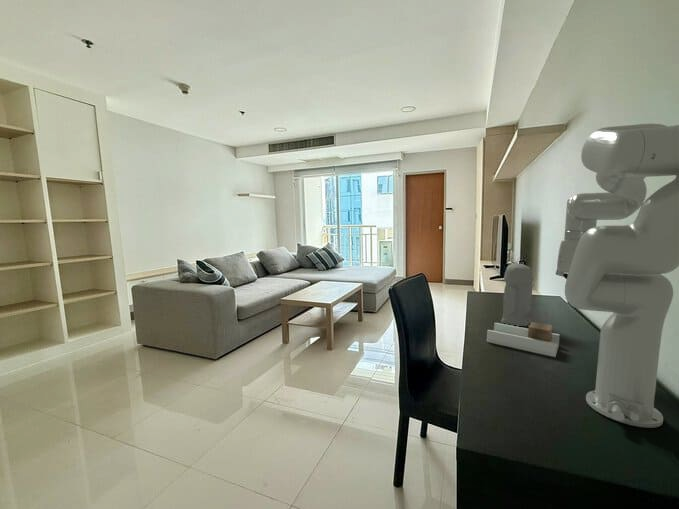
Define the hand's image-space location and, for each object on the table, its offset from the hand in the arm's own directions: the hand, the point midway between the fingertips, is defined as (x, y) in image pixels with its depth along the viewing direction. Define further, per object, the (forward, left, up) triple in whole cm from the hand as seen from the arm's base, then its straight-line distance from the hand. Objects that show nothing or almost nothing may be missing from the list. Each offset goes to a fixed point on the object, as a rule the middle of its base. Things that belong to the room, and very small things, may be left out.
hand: (575, 295), depth 97 cm
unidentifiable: (+25, +19, -19) cm, 37 cm away
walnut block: (0, +8, -18) cm, 20 cm away
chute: (0, +13, -19) cm, 23 cm away
